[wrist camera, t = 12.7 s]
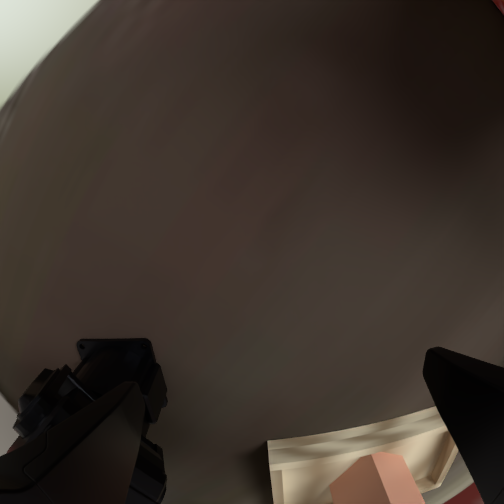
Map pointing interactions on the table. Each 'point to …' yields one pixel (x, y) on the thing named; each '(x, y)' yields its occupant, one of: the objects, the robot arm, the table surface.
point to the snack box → (499, 5)
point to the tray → (359, 455)
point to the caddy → (376, 482)
